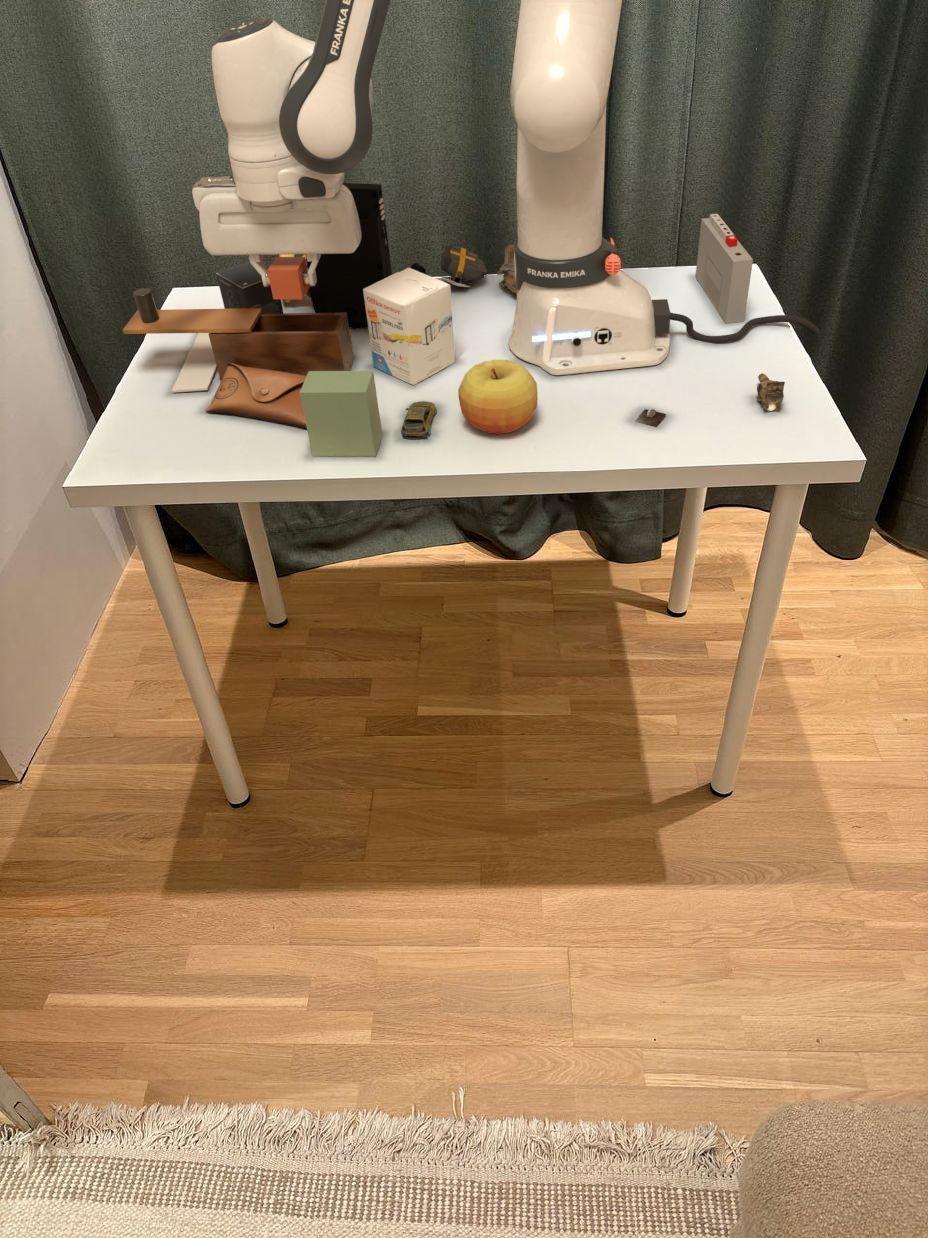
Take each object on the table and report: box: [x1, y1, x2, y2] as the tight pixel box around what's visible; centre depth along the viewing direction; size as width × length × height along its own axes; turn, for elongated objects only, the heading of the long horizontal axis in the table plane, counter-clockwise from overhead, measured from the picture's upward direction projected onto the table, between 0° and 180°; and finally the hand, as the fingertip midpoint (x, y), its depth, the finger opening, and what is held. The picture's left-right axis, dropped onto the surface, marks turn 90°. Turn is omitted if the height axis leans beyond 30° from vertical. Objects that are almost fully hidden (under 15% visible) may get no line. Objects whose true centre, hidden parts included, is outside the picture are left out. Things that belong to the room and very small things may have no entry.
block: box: [268, 256, 310, 300], centre depth 126 cm, size 4×4×4 cm
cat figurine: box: [756, 373, 786, 412], centre depth 120 cm, size 3×8×4 cm, turn 0°
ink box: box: [363, 267, 456, 386], centre depth 130 cm, size 9×8×12 cm
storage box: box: [208, 312, 355, 381], centre depth 133 cm, size 18×6×7 cm, turn 84°
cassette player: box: [694, 213, 754, 324], centre depth 139 cm, size 16×3×10 cm, turn 6°
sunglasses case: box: [205, 363, 307, 429], centre depth 127 cm, size 18×7×7 cm
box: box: [215, 260, 284, 314], centre depth 138 cm, size 8×6×11 cm
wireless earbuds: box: [398, 262, 430, 276], centre depth 153 cm, size 7×2×5 cm
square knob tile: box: [635, 408, 667, 428], centre depth 119 cm, size 3×3×1 cm
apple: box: [458, 359, 539, 435], centre depth 119 cm, size 10×10×8 cm
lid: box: [122, 287, 262, 335], centre depth 130 cm, size 18×6×5 cm, turn 84°
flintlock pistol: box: [496, 244, 517, 295], centre depth 150 cm, size 19×4×10 cm
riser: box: [300, 370, 383, 457], centre depth 117 cm, size 8×5×9 cm, turn 84°
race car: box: [400, 400, 438, 440], centre depth 122 cm, size 4×8×2 cm, turn 172°
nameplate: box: [171, 333, 218, 393], centre depth 140 cm, size 22×1×5 cm
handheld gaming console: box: [305, 182, 393, 330], centre depth 137 cm, size 12×5×20 cm, turn 76°
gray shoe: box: [439, 245, 489, 288], centre depth 153 cm, size 7×15×4 cm, turn 176°
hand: (290, 284), depth 126 cm, fingers closed on block, 4 cm apart
